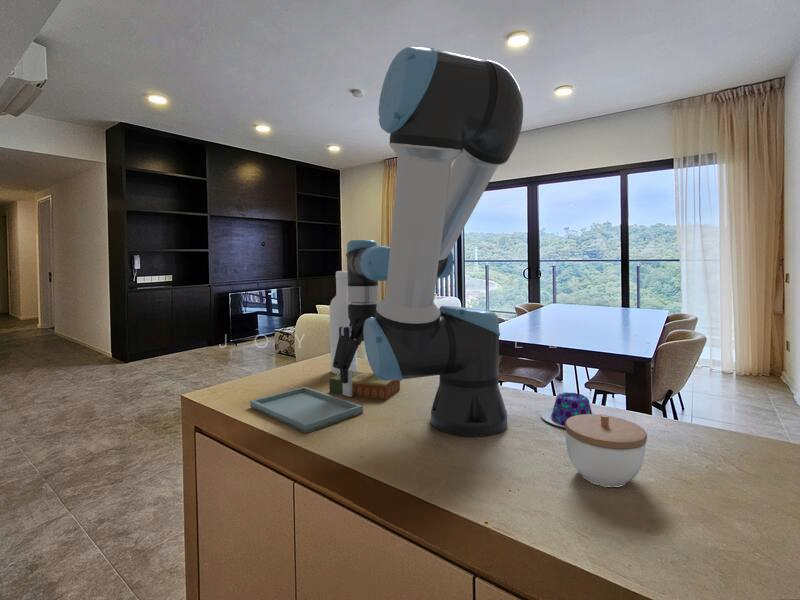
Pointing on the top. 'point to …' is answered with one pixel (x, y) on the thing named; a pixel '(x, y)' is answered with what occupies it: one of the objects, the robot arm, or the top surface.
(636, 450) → the lidded jar
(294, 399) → the tray
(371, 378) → the carton
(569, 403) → the pudding
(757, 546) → the top surface
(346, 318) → the bottle
